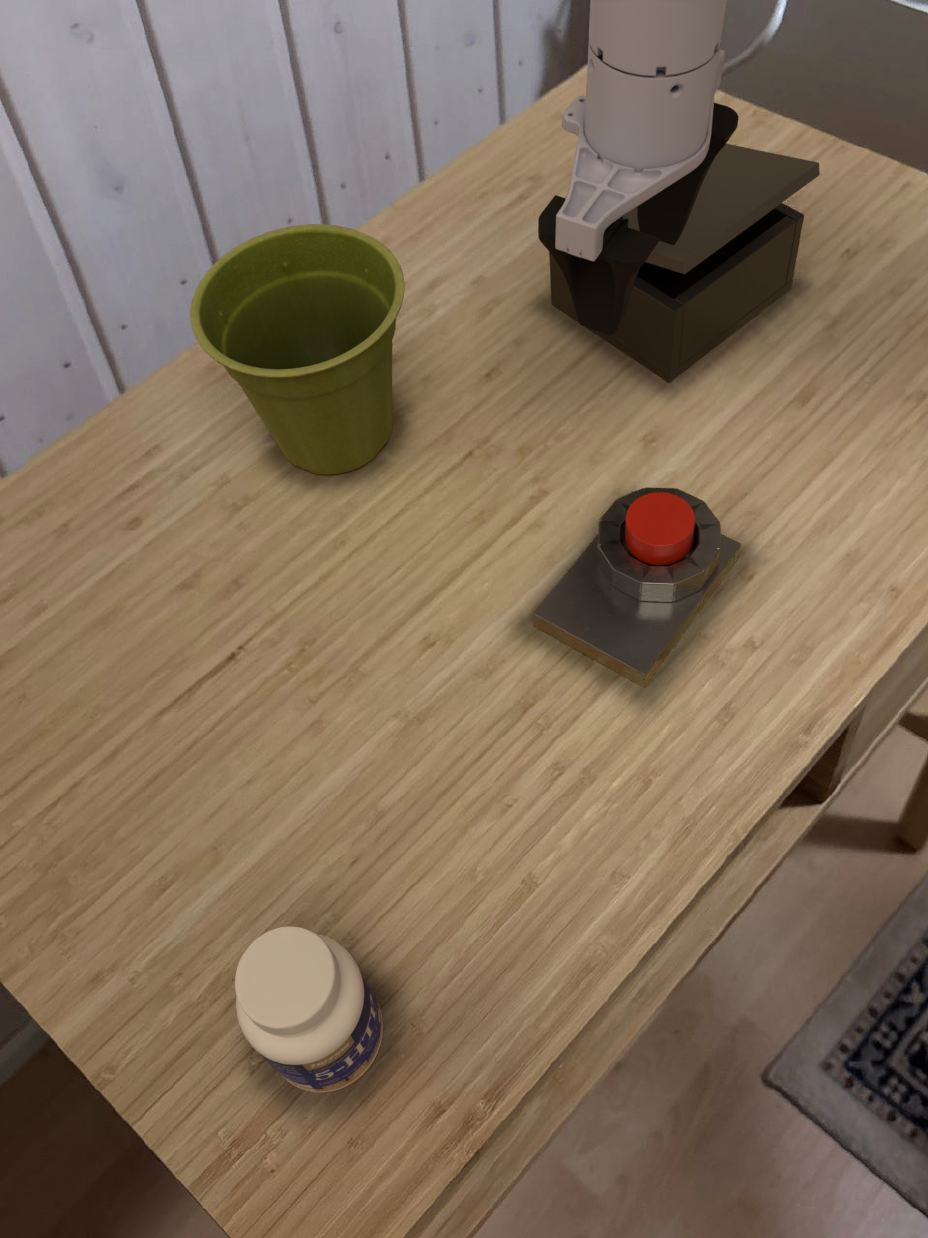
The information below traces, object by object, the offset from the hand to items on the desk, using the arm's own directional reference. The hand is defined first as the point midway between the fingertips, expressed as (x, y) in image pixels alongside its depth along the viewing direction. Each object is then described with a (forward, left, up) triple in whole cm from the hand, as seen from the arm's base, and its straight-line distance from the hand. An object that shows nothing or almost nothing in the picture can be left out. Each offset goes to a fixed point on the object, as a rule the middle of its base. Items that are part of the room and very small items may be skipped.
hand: (629, 279), depth 61 cm
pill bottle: (-8, +39, -11) cm, 41 cm away
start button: (-7, +9, -8) cm, 14 cm away
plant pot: (+15, +11, -11) cm, 21 cm away
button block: (-7, +11, -11) cm, 17 cm away
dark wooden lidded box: (+3, -11, -11) cm, 15 cm away
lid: (+3, -10, -3) cm, 11 cm away
